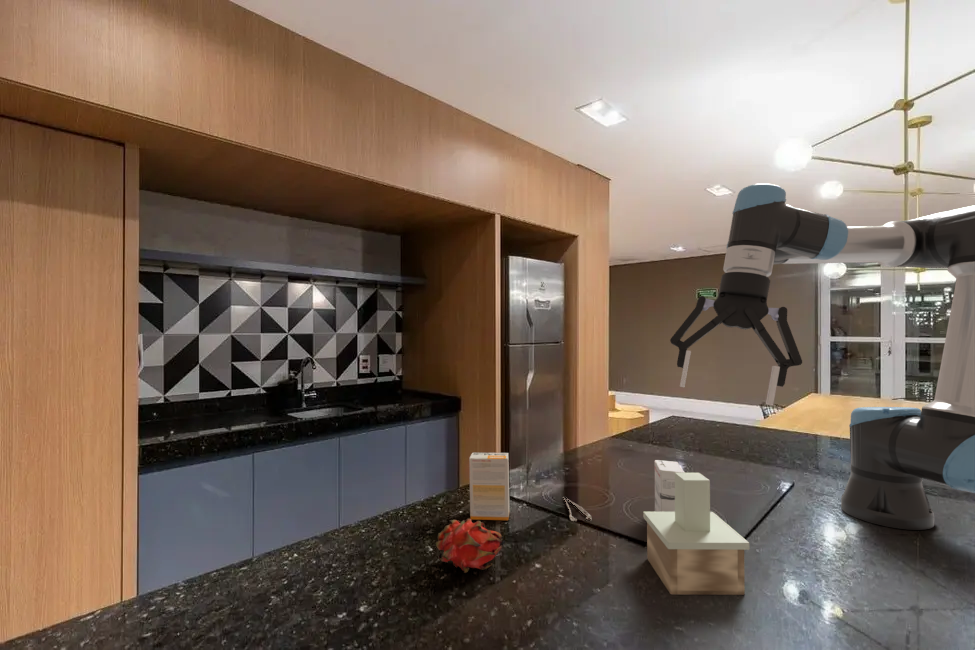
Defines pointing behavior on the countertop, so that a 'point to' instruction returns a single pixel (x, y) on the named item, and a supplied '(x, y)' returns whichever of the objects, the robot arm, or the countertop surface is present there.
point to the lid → (693, 519)
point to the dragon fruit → (469, 544)
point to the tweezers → (579, 509)
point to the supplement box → (489, 486)
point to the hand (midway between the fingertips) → (724, 395)
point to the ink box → (665, 485)
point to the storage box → (696, 568)
